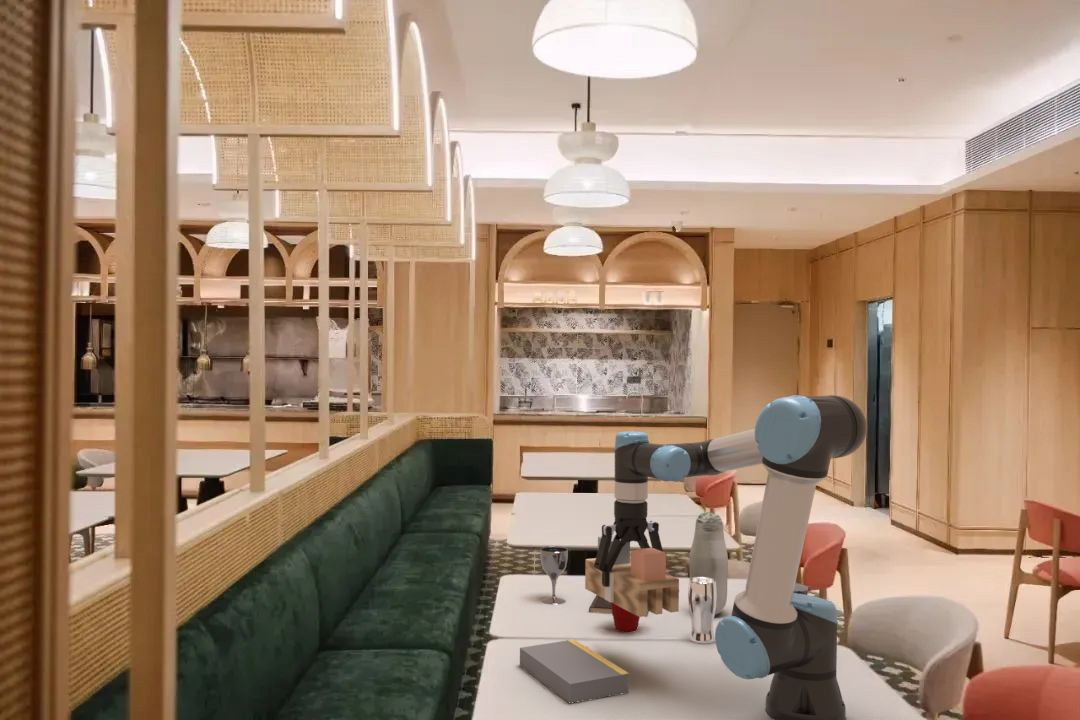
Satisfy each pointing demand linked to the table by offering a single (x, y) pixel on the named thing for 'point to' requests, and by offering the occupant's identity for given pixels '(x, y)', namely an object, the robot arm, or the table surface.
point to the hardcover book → (600, 605)
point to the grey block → (624, 553)
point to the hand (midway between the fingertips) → (629, 598)
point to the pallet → (635, 590)
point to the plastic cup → (624, 619)
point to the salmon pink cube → (648, 564)
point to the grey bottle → (710, 554)
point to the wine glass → (553, 568)
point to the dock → (574, 670)
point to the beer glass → (702, 608)
